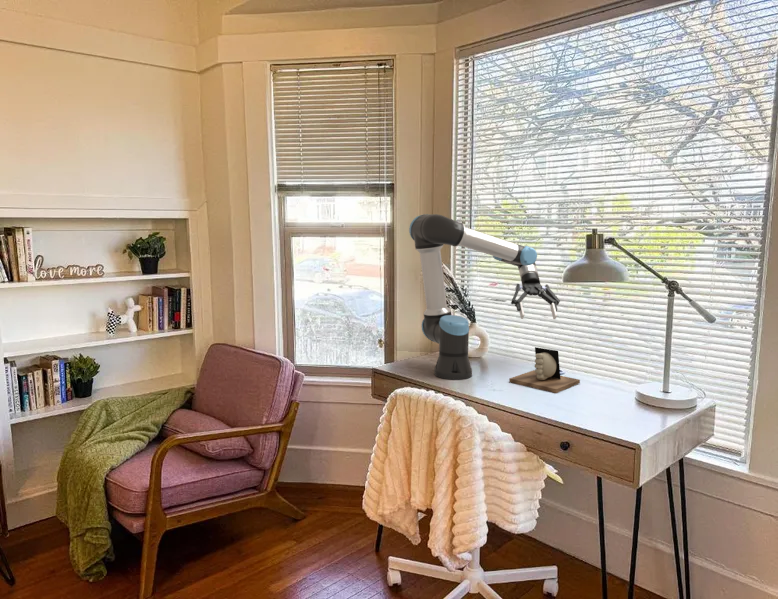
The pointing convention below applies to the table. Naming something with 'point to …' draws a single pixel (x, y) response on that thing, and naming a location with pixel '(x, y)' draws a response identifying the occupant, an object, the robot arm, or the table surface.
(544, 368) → the decorative object
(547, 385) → the walnut board
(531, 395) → the table surface
